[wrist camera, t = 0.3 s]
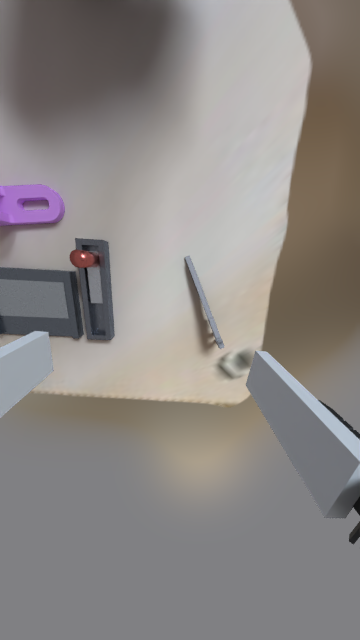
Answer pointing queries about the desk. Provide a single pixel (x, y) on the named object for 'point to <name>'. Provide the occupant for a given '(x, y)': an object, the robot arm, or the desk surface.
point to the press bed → (39, 302)
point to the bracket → (8, 200)
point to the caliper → (204, 303)
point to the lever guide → (102, 313)
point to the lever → (90, 271)
